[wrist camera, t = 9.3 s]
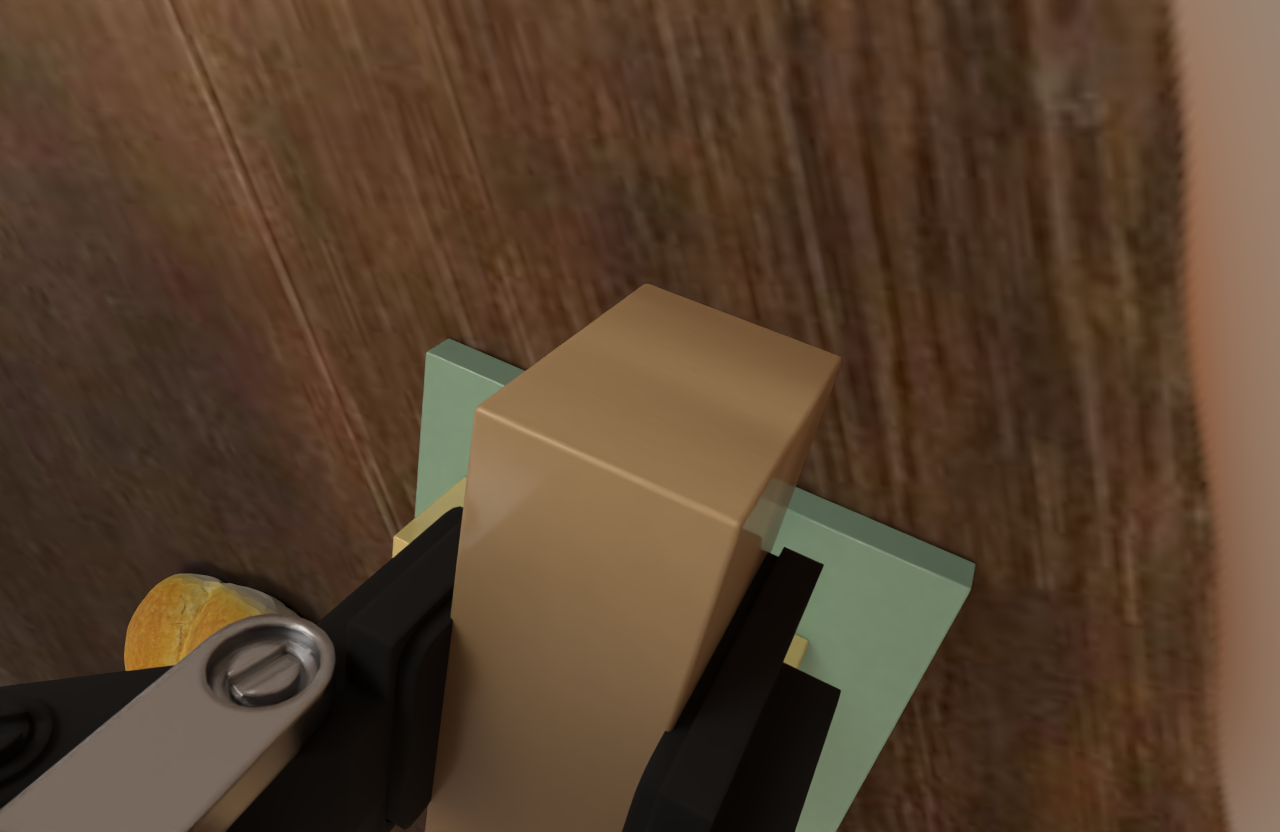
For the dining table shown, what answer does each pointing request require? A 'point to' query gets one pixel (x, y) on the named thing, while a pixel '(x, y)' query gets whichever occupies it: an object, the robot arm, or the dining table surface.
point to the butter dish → (819, 529)
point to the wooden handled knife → (611, 553)
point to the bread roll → (188, 617)
